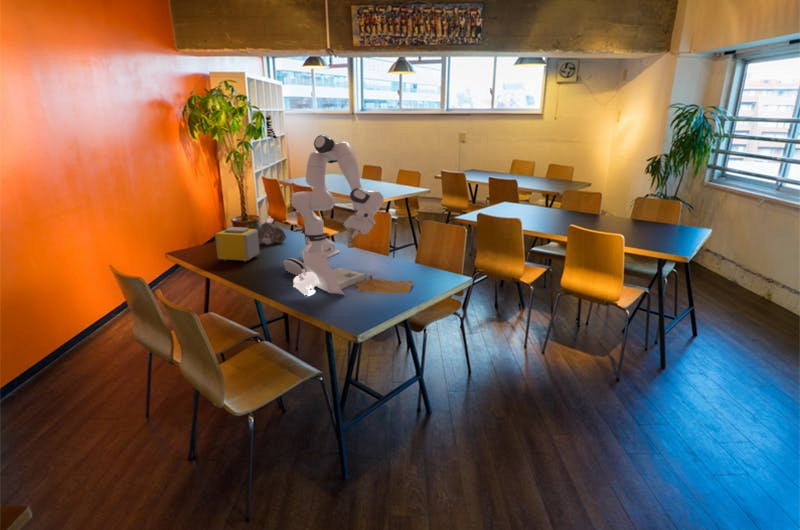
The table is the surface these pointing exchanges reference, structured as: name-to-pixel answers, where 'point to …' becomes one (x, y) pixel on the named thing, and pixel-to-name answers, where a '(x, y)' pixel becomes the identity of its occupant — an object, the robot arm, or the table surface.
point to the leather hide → (384, 286)
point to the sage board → (347, 277)
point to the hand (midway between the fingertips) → (349, 236)
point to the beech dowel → (349, 239)
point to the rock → (271, 233)
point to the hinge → (294, 266)
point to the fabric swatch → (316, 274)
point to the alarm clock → (237, 243)
